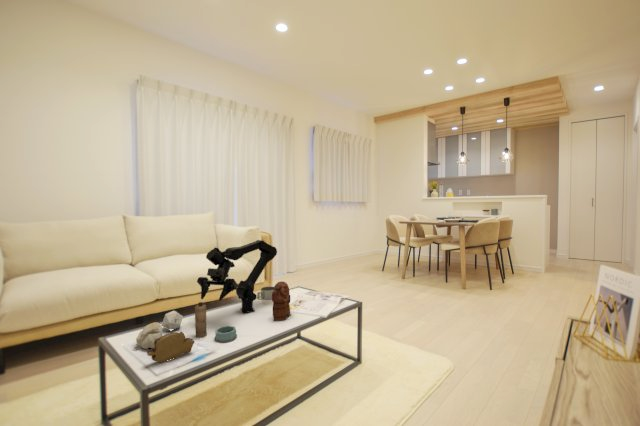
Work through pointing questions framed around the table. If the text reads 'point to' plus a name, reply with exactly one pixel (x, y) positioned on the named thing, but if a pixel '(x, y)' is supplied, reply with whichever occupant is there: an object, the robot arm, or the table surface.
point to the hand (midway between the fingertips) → (210, 299)
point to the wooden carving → (170, 346)
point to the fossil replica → (149, 335)
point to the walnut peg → (200, 320)
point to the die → (172, 320)
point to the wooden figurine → (281, 301)
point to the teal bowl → (225, 334)
